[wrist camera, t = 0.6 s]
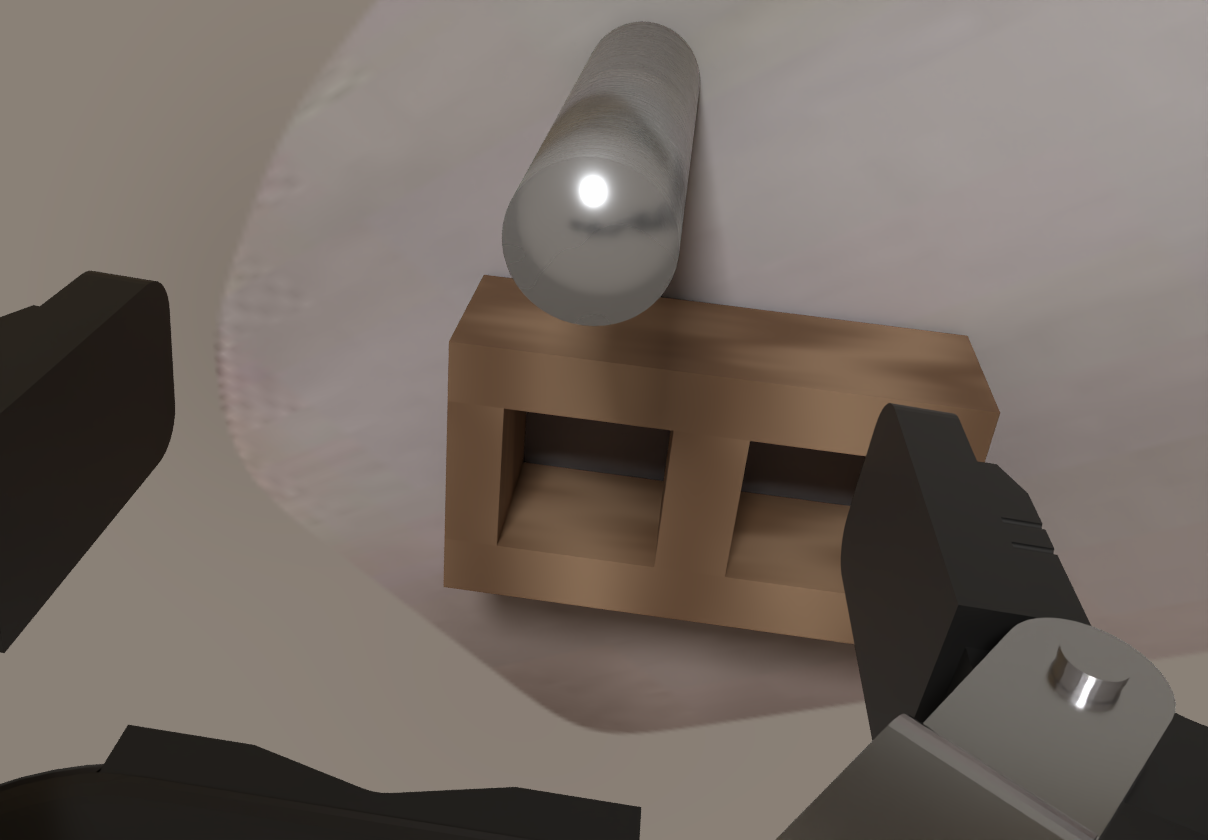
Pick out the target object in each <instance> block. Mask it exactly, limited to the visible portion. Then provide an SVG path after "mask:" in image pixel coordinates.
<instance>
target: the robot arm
mask: <svg viewBox="0 0 1208 840" xmlns="http://www.w3.org/2000/svg"><path fill="white" fill-rule="evenodd" d="M174 418H175V397H174V380H173V361H172V345H171V326H170V309H169V301H168V296H167V293H166V290H165V288H164V287H163V285H162V284H161V283H159V282H157V281H151V280H145V279H139V278H133V277H127V276H121V275H114V274H108V273H102V272H96V271H87V272H85V273H83V274H81V275H80V276H79V277H78V278H76V279H75V280H74V281H72V282H71V283H70V284H68V285H67V286H66V287H64V288H63V289H62V290H61V291H59V292H58V293H57V294H55V295H54V296H53V297H51V298H50V299H49V300H48V301H46V302H45V303H44V304H42V305H41V306H34V305H33V306H30V307H27V308H24V309H22V310H19V311H16V312H13V313H11V314H8V315H5V316H2V317H0V652H1V653H5V652H6V650H7V649H8V648H9V646H10V645H11V644H12V643H13V642H14V641H15V639H16V638H17V637H18V636H19V634H20V633H21V632H22V631H23V629H24V628H25V627H26V626H27V624H28V623H29V622H30V621H31V619H32V618H33V617H34V616H35V615H36V614H37V612H38V611H39V610H40V609H41V607H42V606H43V605H44V604H45V602H46V601H47V600H48V599H49V598H50V596H51V595H52V594H53V593H54V591H55V590H56V589H57V587H58V586H59V585H60V584H61V583H62V581H63V580H64V579H65V578H66V577H67V575H68V574H69V573H70V572H71V570H72V569H73V568H74V567H75V566H76V564H77V563H78V562H79V561H80V559H81V558H82V557H83V556H84V554H85V553H86V552H87V551H88V550H89V548H90V547H91V545H93V543H94V542H95V541H96V540H97V538H98V537H99V536H100V535H101V534H102V532H103V531H104V530H105V529H106V527H107V526H108V525H109V524H110V522H111V521H112V520H113V519H114V518H115V516H116V515H117V514H118V513H119V511H120V510H121V509H122V508H123V507H124V505H125V504H126V503H127V502H128V500H129V499H130V498H131V497H132V495H133V494H134V493H135V492H136V490H137V489H138V488H139V487H140V486H141V484H142V483H143V482H144V481H145V479H146V478H147V477H148V476H149V475H150V473H151V472H152V471H153V470H154V468H155V467H156V466H157V465H158V463H159V462H160V461H161V459H162V458H163V456H164V454H165V452H166V450H167V447H168V445H169V442H170V439H171V435H172V431H173V425H174ZM1053 551H1054V547H1053V545H1052V543H1051V541H1050V539H1049V537H1048V534H1047V532H1046V530H1044V529H1042V522H1041V520H1040V518H1039V516H1038V514H1037V511H1036V509H1035V507H1034V505H1033V503H1032V501H1031V499H1030V497H1029V495H1028V493H1027V492H1026V491H1025V490H1024V489H1022V488H1021V487H1020V486H1019V485H1018V484H1017V483H1016V482H1015V481H1014V480H1013V479H1012V478H1011V477H1010V476H1009V475H1007V474H1006V473H1005V472H1004V471H1003V470H1002V469H1001V468H1000V467H999V466H998V465H997V464H991V463H985V462H979V461H977V460H976V457H975V455H974V453H973V450H972V448H971V446H970V443H969V441H968V439H967V436H966V434H965V432H964V429H963V427H962V424H961V422H960V420H959V418H958V416H957V415H956V414H953V413H948V412H942V411H936V410H929V409H923V408H917V407H911V406H905V405H899V404H893V403H888V404H886V405H885V406H884V408H883V409H882V411H881V413H880V415H879V417H878V420H877V422H876V425H875V428H874V432H873V435H872V438H871V441H870V445H869V448H868V451H867V454H866V457H865V461H864V464H863V467H862V470H861V474H860V477H859V480H858V483H857V486H856V490H855V493H854V496H853V499H852V503H851V506H850V509H849V512H848V515H847V519H846V523H845V527H844V532H843V538H842V546H841V575H842V580H843V586H844V591H845V596H846V602H847V607H848V613H849V618H850V623H851V629H852V634H853V639H854V645H855V650H856V655H857V661H858V666H859V672H860V677H861V682H862V688H863V693H864V698H865V704H866V709H867V714H868V719H869V725H870V730H871V736H872V742H871V743H870V744H869V745H868V746H867V747H866V748H865V749H864V750H863V751H862V752H861V753H860V754H859V755H858V756H857V757H856V758H855V760H854V761H852V762H851V763H850V764H849V766H848V767H847V768H845V770H844V771H843V772H842V773H841V774H840V775H839V776H838V777H837V778H836V779H835V780H834V781H833V782H832V783H831V784H830V785H829V786H828V787H827V788H826V789H825V790H824V791H823V792H822V793H821V794H820V795H819V796H818V797H817V798H816V799H815V800H814V801H813V802H812V803H811V804H810V805H809V806H808V807H807V808H806V809H805V810H804V811H803V812H802V813H801V814H800V815H799V816H798V818H797V819H795V820H794V821H793V822H792V823H791V824H790V826H788V828H787V829H786V830H785V831H784V832H783V833H782V834H781V835H780V836H779V837H778V838H777V839H776V840H1208V727H1207V726H1204V725H1201V724H1199V723H1197V722H1194V721H1192V720H1190V719H1187V718H1185V717H1183V716H1181V715H1179V714H1177V713H1175V699H1174V694H1173V692H1172V690H1171V687H1170V685H1169V683H1168V682H1167V680H1166V679H1165V678H1164V676H1163V675H1162V673H1161V672H1160V671H1159V670H1158V669H1157V668H1156V667H1155V666H1154V664H1153V663H1152V662H1150V661H1149V660H1148V659H1147V658H1146V657H1145V656H1144V655H1142V654H1141V653H1140V652H1138V651H1137V650H1136V649H1134V648H1133V647H1132V646H1130V645H1129V644H1127V643H1125V642H1124V641H1122V640H1120V639H1118V638H1117V637H1115V636H1113V635H1111V634H1109V633H1107V632H1105V631H1102V630H1100V629H1097V628H1095V627H1092V626H1091V625H1090V622H1089V620H1088V618H1087V616H1086V614H1085V612H1084V610H1083V608H1082V606H1081V604H1080V601H1079V599H1078V597H1077V595H1076V593H1075V591H1074V589H1073V587H1072V585H1071V583H1070V581H1069V578H1068V576H1067V574H1066V572H1065V570H1064V568H1063V566H1062V564H1061V562H1060V560H1059V558H1058V555H1054V554H1053ZM640 819H641V807H636V806H629V805H624V804H618V803H611V802H605V801H599V800H593V799H587V798H580V797H574V796H568V795H562V794H555V793H549V792H543V791H537V790H531V789H524V788H518V787H506V788H486V789H465V790H445V791H426V792H425V791H424V792H406V793H405V792H403V793H379V792H373V791H369V790H366V789H363V788H360V787H358V786H355V785H353V784H350V783H348V782H345V781H343V780H340V779H338V778H335V777H333V776H330V775H328V774H325V773H323V772H320V771H318V770H315V769H313V768H310V767H308V766H305V765H303V764H300V763H298V762H295V761H293V760H290V759H288V758H285V757H283V756H280V755H278V754H275V753H273V752H270V751H268V750H265V749H263V748H260V747H258V746H255V745H251V744H245V743H238V742H232V741H226V740H220V739H213V738H207V737H201V736H194V735H188V734H182V733H176V732H170V731H163V730H158V729H151V728H144V727H139V726H132V725H128V726H127V728H126V729H125V731H124V732H123V734H122V736H121V737H120V739H119V741H118V742H117V744H116V745H115V747H114V749H113V750H112V752H111V753H110V755H109V757H108V758H107V760H106V762H105V763H104V764H96V765H84V766H77V767H70V768H63V769H56V770H51V771H47V772H43V773H38V774H34V775H30V776H25V777H21V778H18V779H14V780H11V781H8V782H5V783H2V784H0V840H639V837H640Z"/></svg>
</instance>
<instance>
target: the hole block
mask: <svg viewBox="0 0 1208 840" xmlns="http://www.w3.org/2000/svg"><path fill="white" fill-rule="evenodd" d="M888 403H893V404H899V405H905V406H911V407H917V408H923V409H929V410H936V411H942V412H948V413H953V414H956V415H957V416H958V418H959V420H960V422H961V424H962V427H963V429H964V432H965V434H966V436H967V439H968V441H969V443H970V446H971V448H972V450H973V453H974V455H975V457H976V460H977V461H979V462H985V459H986V456H987V453H988V450H989V447H990V444H991V440H992V437H993V434H994V431H995V428H996V424H997V421H998V418H999V415H1000V411H999V409H998V407H997V404H996V402H995V400H994V397H993V395H992V393H991V390H990V388H989V385H988V383H987V381H986V378H985V376H984V374H983V371H982V369H981V367H980V364H979V362H978V359H977V357H976V355H975V352H974V350H973V348H972V345H971V343H970V341H969V338H968V336H964V335H956V334H948V333H940V332H932V331H924V330H916V329H909V328H901V327H893V326H885V325H877V324H869V323H861V322H853V321H845V320H837V319H829V318H821V317H814V316H806V315H798V314H790V313H782V312H774V311H766V310H758V309H750V308H742V307H734V306H727V305H719V304H711V303H703V302H695V301H687V300H679V299H671V298H663V297H660V298H659V299H658V300H657V301H656V302H655V303H654V304H653V305H651V306H650V307H649V308H648V309H647V310H645V311H644V312H642V313H640V314H639V315H637V316H635V317H633V318H631V319H629V320H626V321H623V322H620V323H616V324H611V325H605V326H584V325H578V324H573V323H569V322H566V321H563V320H560V319H558V318H556V317H553V316H551V315H549V314H548V313H546V312H544V311H543V310H541V309H540V308H539V307H537V306H536V305H535V304H533V303H532V302H531V301H530V300H529V299H528V298H527V297H526V296H525V295H524V294H523V292H522V291H521V290H520V289H519V287H518V286H517V285H516V283H515V281H514V280H513V278H505V277H497V276H489V275H484V276H483V278H482V280H481V281H480V283H479V285H478V287H477V289H476V291H475V293H474V295H473V297H472V299H471V301H470V302H469V304H468V306H467V308H466V310H465V312H464V314H463V316H462V318H461V320H460V322H459V324H458V325H457V327H456V329H455V331H454V333H453V335H452V337H451V339H450V341H449V366H448V412H447V457H446V502H445V547H444V587H448V588H455V589H463V590H470V591H477V592H484V593H491V594H498V595H506V596H513V597H520V598H527V599H534V600H541V601H549V602H556V603H563V604H570V605H577V606H584V607H592V608H599V609H606V610H613V611H620V612H627V613H635V614H642V615H649V616H656V617H663V618H670V619H678V620H685V621H692V622H699V623H706V624H713V625H721V626H728V627H735V628H742V629H749V630H756V631H764V632H771V633H778V634H785V635H792V636H799V637H807V638H814V639H821V640H828V641H835V642H842V643H850V644H854V639H853V634H852V629H851V623H850V618H849V613H848V607H847V602H846V596H845V591H844V586H843V580H842V575H841V546H842V538H843V532H844V527H845V523H846V519H847V515H848V512H849V509H850V506H846V505H839V504H832V503H824V502H817V501H809V500H802V499H794V498H787V497H779V496H772V495H764V494H757V493H749V492H742V491H741V487H742V481H743V476H744V471H745V465H746V460H747V454H748V449H749V444H750V441H755V442H762V443H770V444H777V445H785V446H793V447H800V448H808V449H815V450H823V451H830V452H838V453H846V454H853V455H861V456H866V454H867V451H868V448H869V445H870V441H871V438H872V435H873V432H874V428H875V425H876V422H877V420H878V417H879V415H880V413H881V411H882V409H883V408H884V406H885V405H886V404H888ZM526 412H535V413H542V414H550V415H557V416H565V417H573V418H580V419H588V420H595V421H603V422H610V423H618V424H626V425H633V426H641V427H648V428H656V429H664V430H671V431H670V438H669V445H668V452H667V459H666V466H665V473H664V480H663V481H660V480H652V479H645V478H637V477H630V476H622V475H615V474H608V473H600V472H593V471H585V470H578V469H570V468H563V467H555V466H548V465H540V464H533V463H525V462H523V459H524V443H525V428H526Z"/></svg>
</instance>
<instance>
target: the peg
mask: <svg viewBox="0 0 1208 840" xmlns="http://www.w3.org/2000/svg"><path fill="white" fill-rule="evenodd" d="M699 89H700V73H699V67H698V64H697V61H696V58H695V56H694V54H693V51H692V50H691V48H690V47H689V45H688V44H687V43H686V42H685V40H684V39H683V38H682V37H680V36H679V35H678V34H677V33H676V32H674V31H673V30H671V29H669V28H667V27H665V26H663V25H660V24H657V23H651V22H633V23H629V24H625V25H623V26H620V27H618V28H616V29H614V30H612V31H611V32H610V33H608V34H607V35H606V36H605V37H604V38H603V39H602V40H601V41H600V42H599V43H598V45H597V46H596V47H595V49H594V51H593V52H592V54H591V56H590V58H589V60H588V62H587V63H586V65H585V67H584V69H583V71H582V72H581V74H580V76H579V78H578V80H577V82H576V83H575V85H574V87H573V89H572V91H571V92H570V94H569V96H568V98H567V100H566V102H565V103H564V105H563V107H562V109H561V111H560V112H559V114H558V116H557V118H556V120H555V122H554V123H553V125H552V127H551V129H550V131H549V132H548V134H547V136H546V138H545V140H544V142H543V143H542V145H541V147H540V149H539V151H538V153H537V154H536V156H535V158H534V160H533V162H532V163H531V165H530V167H529V169H528V171H527V173H526V174H525V176H524V178H523V180H522V182H521V183H520V185H519V187H518V189H517V191H516V193H515V194H514V196H513V198H512V200H511V202H510V204H509V206H508V209H507V211H506V214H505V218H504V222H503V230H502V246H503V253H504V258H505V261H506V264H507V267H508V269H509V272H510V274H511V276H512V278H513V280H514V281H515V283H516V285H517V286H518V287H519V289H520V290H521V291H522V292H523V294H524V295H525V296H526V297H527V298H528V299H529V300H530V301H531V302H532V303H533V304H535V305H536V306H537V307H539V308H540V309H541V310H543V311H544V312H546V313H548V314H549V315H551V316H553V317H556V318H558V319H560V320H563V321H566V322H569V323H573V324H578V325H584V326H605V325H611V324H616V323H620V322H623V321H626V320H629V319H631V318H633V317H635V316H637V315H639V314H640V313H642V312H644V311H645V310H647V309H648V308H649V307H650V306H651V305H653V304H654V303H655V302H656V301H657V300H658V299H659V298H660V297H661V295H662V294H663V293H664V291H665V290H666V288H667V287H668V285H669V283H670V281H671V280H672V278H673V275H674V272H675V269H676V267H677V262H678V257H679V250H680V242H681V234H682V225H683V217H684V209H685V201H686V193H687V185H688V177H689V169H690V161H691V153H692V145H693V137H694V129H695V121H696V113H697V105H698V97H699Z"/></svg>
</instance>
